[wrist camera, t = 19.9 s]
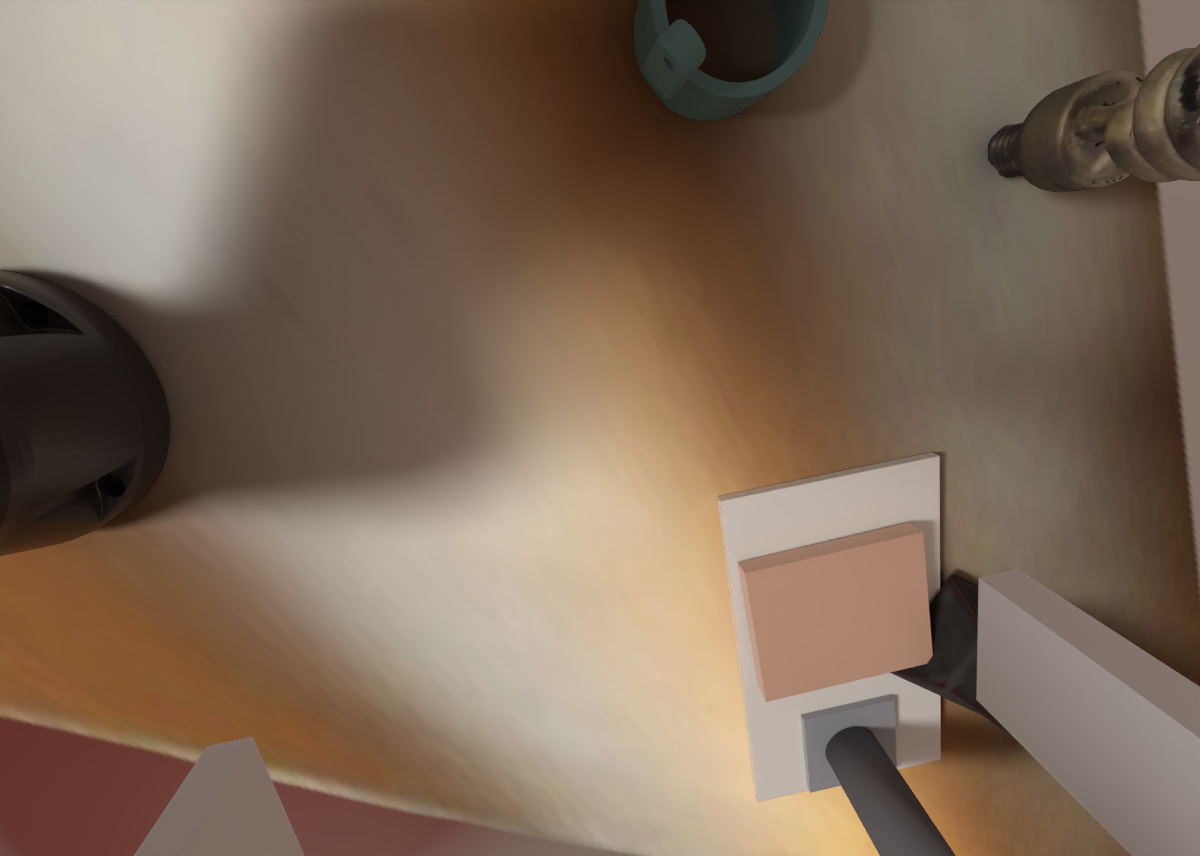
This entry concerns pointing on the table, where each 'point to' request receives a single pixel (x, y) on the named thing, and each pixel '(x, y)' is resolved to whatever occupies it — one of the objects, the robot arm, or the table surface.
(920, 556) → the tile
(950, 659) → the barrier
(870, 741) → the tool handle
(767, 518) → the board
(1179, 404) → the table surface
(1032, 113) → the light bulb
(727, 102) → the bracket
